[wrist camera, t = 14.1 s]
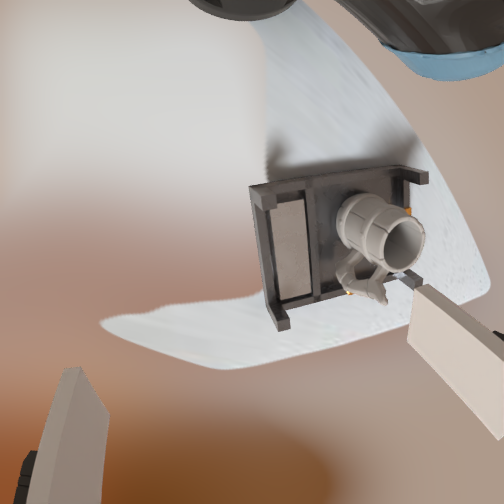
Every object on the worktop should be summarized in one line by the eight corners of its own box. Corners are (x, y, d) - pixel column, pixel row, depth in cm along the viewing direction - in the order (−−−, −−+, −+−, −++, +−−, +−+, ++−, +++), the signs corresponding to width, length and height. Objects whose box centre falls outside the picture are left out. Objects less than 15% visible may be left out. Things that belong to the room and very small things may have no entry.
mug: (392, 208, 40) (452, 236, 29) (347, 281, 43) (395, 328, 32) (352, 179, 37) (413, 201, 26) (305, 260, 40) (348, 308, 29)
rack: (248, 186, 36) (260, 196, 30) (400, 164, 39) (428, 171, 33) (266, 306, 42) (278, 332, 36) (398, 270, 45) (422, 288, 39)
